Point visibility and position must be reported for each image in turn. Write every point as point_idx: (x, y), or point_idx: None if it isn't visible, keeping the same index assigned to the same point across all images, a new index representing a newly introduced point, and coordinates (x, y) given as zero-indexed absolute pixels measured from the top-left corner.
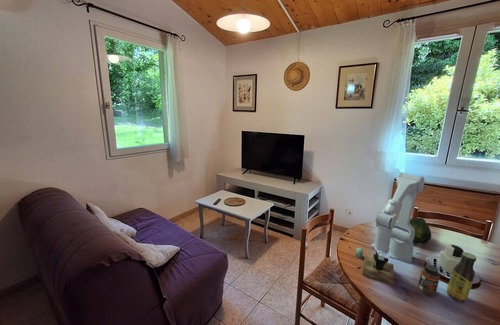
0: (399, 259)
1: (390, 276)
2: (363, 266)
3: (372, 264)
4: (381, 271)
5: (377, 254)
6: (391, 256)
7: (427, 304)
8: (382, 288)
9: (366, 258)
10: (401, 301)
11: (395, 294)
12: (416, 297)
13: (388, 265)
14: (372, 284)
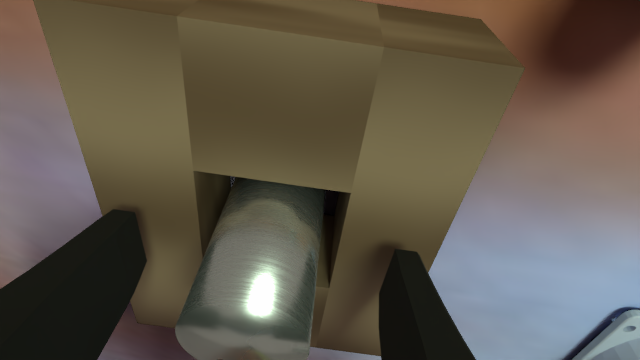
0: (574, 357)
1: (131, 301)
2: (203, 1)
3: (269, 169)
4: (162, 246)
5: (411, 353)
6: (621, 329)
7: (111, 356)
8: (40, 170)
9: (431, 95)
10: (6, 261)
11: (52, 244)
12: (132, 333)
13: (343, 322)
14: (14, 84)
